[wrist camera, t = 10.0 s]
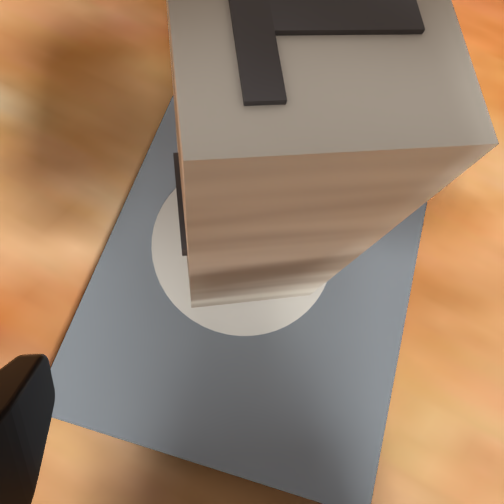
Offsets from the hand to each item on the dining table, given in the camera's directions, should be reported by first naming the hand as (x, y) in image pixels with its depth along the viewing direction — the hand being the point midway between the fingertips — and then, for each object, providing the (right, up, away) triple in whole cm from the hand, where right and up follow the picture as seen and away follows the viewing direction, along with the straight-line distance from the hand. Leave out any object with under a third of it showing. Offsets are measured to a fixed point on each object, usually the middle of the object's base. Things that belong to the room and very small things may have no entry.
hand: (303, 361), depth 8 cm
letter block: (-1, +2, +9) cm, 9 cm away
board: (-1, +1, +10) cm, 10 cm away
